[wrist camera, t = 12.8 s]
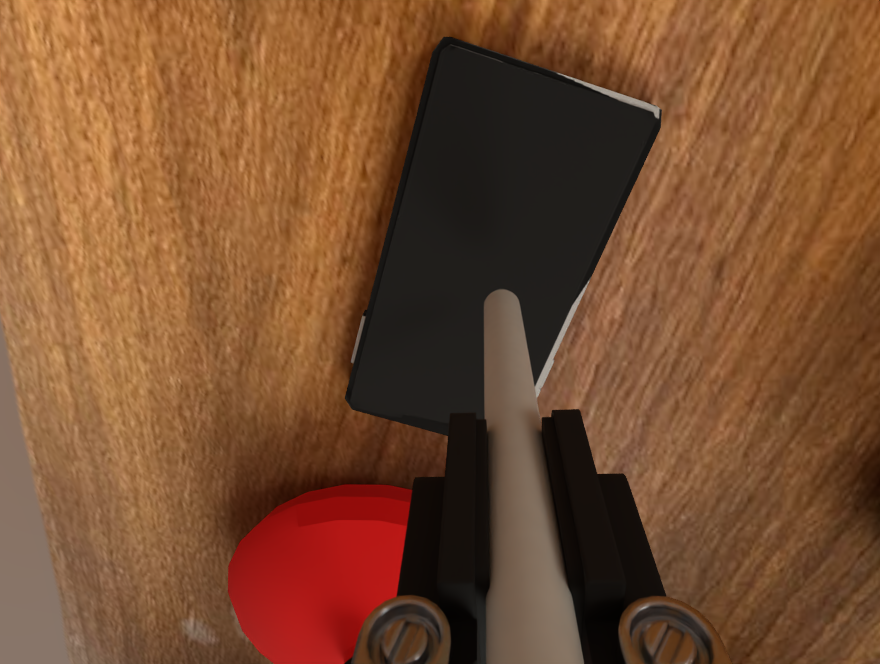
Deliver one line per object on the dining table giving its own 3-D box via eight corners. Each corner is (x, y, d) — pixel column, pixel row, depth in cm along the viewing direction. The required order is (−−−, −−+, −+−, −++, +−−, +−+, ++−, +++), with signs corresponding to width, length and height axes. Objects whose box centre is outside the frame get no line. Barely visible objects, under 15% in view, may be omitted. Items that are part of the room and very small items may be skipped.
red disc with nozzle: (470, 669, 34) (467, 806, 28) (230, 603, 33) (171, 733, 27) (581, 507, 27) (610, 645, 21) (278, 411, 25) (212, 529, 19)
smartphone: (673, 111, 17) (512, 454, 24) (662, 107, 18) (511, 437, 25) (432, 30, 17) (339, 406, 23) (435, 32, 18) (345, 391, 25)
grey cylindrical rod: (484, 314, 19) (488, 760, 6) (482, 282, 19) (483, 693, 6) (518, 312, 19) (594, 763, 6) (517, 280, 18) (598, 696, 6)
